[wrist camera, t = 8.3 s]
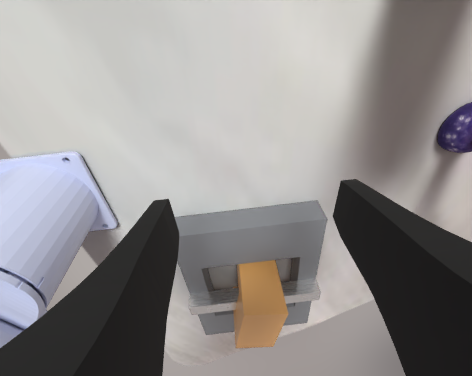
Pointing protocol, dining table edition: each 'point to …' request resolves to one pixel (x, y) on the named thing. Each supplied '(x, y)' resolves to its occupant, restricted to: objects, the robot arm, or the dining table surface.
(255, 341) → the tall orange box
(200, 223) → the gray rectangular frame
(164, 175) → the dining table surface
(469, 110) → the toy lamp
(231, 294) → the hook bar
